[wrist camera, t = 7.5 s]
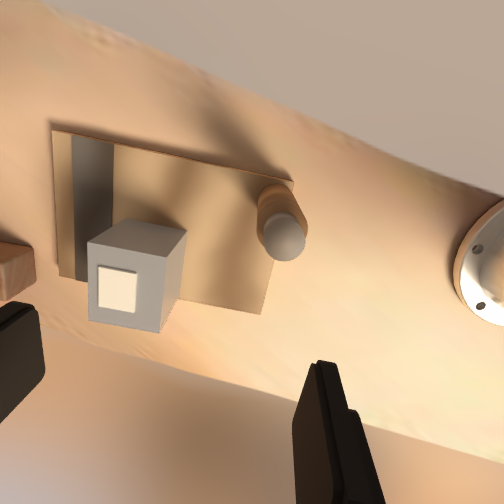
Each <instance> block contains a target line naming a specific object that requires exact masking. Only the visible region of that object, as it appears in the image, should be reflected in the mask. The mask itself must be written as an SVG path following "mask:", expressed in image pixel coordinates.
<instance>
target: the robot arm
mask: <svg viewBox="0 0 504 504" xmlns="http://www.w3.org/2000/svg"><path fill="white" fill-rule="evenodd" d="M453 279H454V286H455V289H456V292H457V295H458V296H459V298H460V299H461V301H462V302H463V304H464V305H465V306H466V307H467V308H469V309H470V310H471V311H472V312H473V313H474V314H476V315H477V316H479V317H480V318H481V319H483V320H485V321H488V322H490V323H492V324H495V325H500V326H504V199H503V200H502V201H501V202H499V203H498V204H496V205H495V206H493V207H492V208H490V209H489V210H488V211H487V212H486V213H485V214H484V215H483V216H482V217H481V218H480V219H478V220H477V222H476V223H475V224H474V225H473V227H472V228H471V229H470V230H469V232H468V233H467V234H466V236H465V238H464V240H463V241H462V243H461V245H460V247H459V249H458V252H457V255H456V258H455V262H454V269H453ZM44 374H45V363H44V355H43V348H42V339H41V331H40V323H39V315H38V311H37V310H35V308H34V306H33V305H31V304H27V303H22V302H17V301H11V302H9V303H7V304H5V305H4V306H2V307H1V308H0V423H1V422H2V421H3V420H4V419H5V418H6V417H7V416H8V415H9V414H10V413H11V412H12V411H13V410H14V409H15V407H16V406H17V405H18V404H19V403H20V402H21V401H22V400H23V399H24V398H25V397H26V396H27V395H28V394H29V393H30V392H31V391H32V390H33V389H34V388H35V387H36V385H37V384H38V383H39V382H40V381H41V380H42V378H43V376H44ZM292 439H293V456H294V472H295V489H296V490H295V491H296V504H386V503H385V499H384V496H383V492H382V489H381V486H380V483H379V479H378V476H377V473H376V469H375V466H374V463H373V459H372V456H371V453H370V449H369V446H368V443H367V439H366V436H365V433H364V430H363V426H362V423H361V419H360V417H359V414H358V413H357V411H356V410H352V409H348V405H347V401H346V398H345V394H344V390H343V387H342V383H341V379H340V375H339V372H338V368H337V365H336V363H333V362H327V361H322V360H318V361H317V363H316V364H314V363H312V364H311V366H310V368H309V372H308V375H307V378H306V381H305V384H304V387H303V390H302V393H301V396H300V399H299V402H298V406H297V408H296V411H295V414H294V418H293V422H292Z"/></svg>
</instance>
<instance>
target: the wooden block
mask: <svg viewBox="0 0 504 504" xmlns="http://www.w3.org/2000/svg"><path fill="white" fill-rule="evenodd" d="M35 282H36V271H35V260H34V250H33V248H31V247H26V246H21V245H16V244H10V243H5V242H0V300H1V301H7V300H9V299H11V298H12V297H14V296H15V295H17V294H18V293H20V292H21V291H23V290H25V289H26V288H28V287H29V286H31V285H32V284H34V283H35Z"/></svg>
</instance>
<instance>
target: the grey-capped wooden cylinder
mask: <svg viewBox="0 0 504 504" xmlns="http://www.w3.org/2000/svg"><path fill="white" fill-rule="evenodd" d="M307 231H308V225H307V221H306V219H305V217H304V215H303V213H302V211H301V209H300V207H299V205H298V203H297V201H296V199H295V197H294V195H293V194H292V192H291V190H290V189H289V188H288V187H286V186H284V185H282V184H271V185H269V186H267V187H265V188H264V189H263V190H262V191H261V193H260V195H259V198H258V208H257V226H256V232H257V237H258V239H259V241H260V243H261V244H262V245H263V246H264V247H265V250H266V252H267V253H268V255H269V256H271V257H272V258H273V259H275V260H278V261H290V260H293V259H295V258H296V257H298V256H299V255H300V254H301V253H302V251H303V249H304V247H305V238H306V235H307Z"/></svg>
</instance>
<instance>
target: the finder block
mask: <svg viewBox="0 0 504 504" xmlns="http://www.w3.org/2000/svg"><path fill="white" fill-rule="evenodd" d="M186 238H187V231H186V230H181V229H176V228H171V227H166V226H161V225H156V224H151V223H146V222H141V221H136V220H131V219H124V220H122V221H121V222H119V223H117V224H116V225H114V226H113V227H111V228H109V229H108V230H106V231H104V232H103V233H101V234H100V235H98V236H96V237H95V238H93V239H91V240H90V241H88V242H87V253H88V317H89V321H93V322H99V323H104V324H110V325H115V326H121V327H126V328H132V329H137V330H143V331H148V332H154V333H160V331H161V329H162V328H163V326H164V324H165V322H166V320H167V318H168V316H169V314H170V312H171V310H172V308H173V306H174V304H175V302H176V300H177V298H178V296H179V294H180V287H181V279H182V271H183V263H184V255H185V247H186Z"/></svg>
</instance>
